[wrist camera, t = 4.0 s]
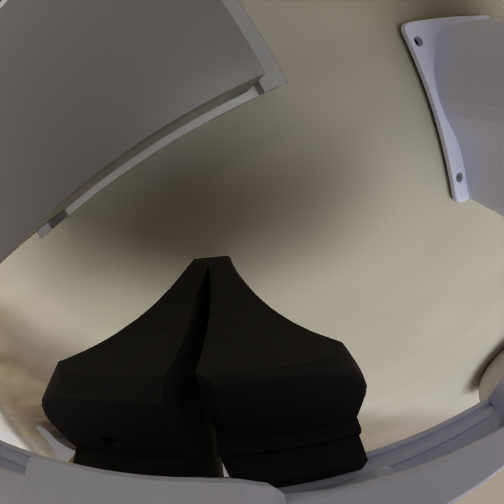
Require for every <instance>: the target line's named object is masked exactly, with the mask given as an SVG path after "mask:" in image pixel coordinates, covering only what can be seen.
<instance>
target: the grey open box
mask: <svg viewBox="0 0 504 504" xmlns="http://www.w3.org/2000/svg"><path fill="white" fill-rule="evenodd" d="M265 74H266V72H265V71H264V69H263V67H262V65H261V63H260V62H259V60H258V58H257V56H256V55H255V53H254V51H253V50H252V48H251V46H250V44H249V43H248V41H247V39H246V38H245V36H244V35H243V33H242V31H241V30H240V28H239V26H238V25H237V23H236V22H235V20H234V19H233V17H232V15H231V14H230V12H229V11H228V9H227V8H226V6H225V5H224V3H223V2H222V0H8V1H7V2H6V3H5V4H4V5H3V6H2V7H1V8H0V263H1V262H3V261H4V260H5V259H6V258H7V257H8V256H9V255H10V254H11V253H12V252H13V251H15V250H16V249H17V248H18V247H19V246H20V245H21V244H22V243H24V242H25V241H26V240H27V239H28V238H30V237H31V236H32V235H33V234H34V233H36V232H37V231H38V230H39V229H40V228H42V227H43V226H44V225H45V224H47V223H48V222H49V221H50V220H52V219H53V218H54V217H56V216H57V215H58V214H59V213H61V212H62V211H63V210H65V209H66V208H67V207H69V206H70V205H71V204H72V203H74V202H75V201H76V200H77V199H78V198H80V197H81V196H82V195H83V194H85V193H86V192H87V191H88V190H90V189H91V188H92V187H93V186H95V185H96V184H97V183H99V182H100V181H101V180H103V179H104V178H105V177H107V176H108V175H109V174H111V173H112V172H113V171H115V170H116V169H118V168H119V167H120V166H122V165H123V164H125V163H126V162H127V161H129V160H130V159H132V158H133V157H135V156H136V155H138V154H139V153H141V152H142V151H144V150H145V149H147V148H148V147H150V146H151V145H153V144H154V143H156V142H158V141H159V140H161V139H162V138H164V137H166V136H167V135H169V134H170V133H172V132H174V131H175V130H177V129H179V128H180V127H182V126H184V125H186V124H187V123H189V122H191V121H192V120H194V119H196V118H198V117H200V116H201V115H203V114H205V113H207V112H209V111H211V110H212V109H214V108H216V107H218V106H220V105H222V104H224V103H226V102H228V101H230V100H232V99H234V98H236V97H238V96H240V95H242V94H244V93H246V92H247V91H248V90H249V89H250V88H251V87H252V86H253V85H254V84H255V83H256V82H257V81H258V80H259V79H260V78H261V77H262V76H264V75H265Z"/></svg>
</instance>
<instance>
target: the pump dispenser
mask: <svg viewBox="0 0 504 504" xmlns="http://www.w3.org/2000/svg"><path fill="white" fill-rule="evenodd" d="M503 378H504V349H503V350H502V351H501V352H500V353H499V354H498V355H497V356H496V357H495V358H494V359H493V360H492V362H491V363H490V364H489V366H488V367H487V369H486V370H485V372H484V374H483V377H482V379H481V382H480V387H479V399H480V402H481V401H483V400H485V399H486V398H488V397H489V394H490V393H491V391H492V390H493V388H494V387H495V386H496V385H497V383H498V382H499V381H500V380H502V379H503Z"/></svg>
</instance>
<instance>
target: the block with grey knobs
mask: <svg viewBox="0 0 504 504" xmlns="http://www.w3.org/2000/svg"><path fill="white" fill-rule="evenodd" d="M7 1H8V0H0V8H1V7H2V6H3V5H4V4H5V3H6V2H7ZM222 2H223V3H224V5H225V6H226V8H227V9H228V11H229V12H230V14H231V15H232V17H233V19H234V20H235V22H236V23H237V25H238V26H239V28H240V30H241V31H242V33H243V35H244V36H245V38H246V39H247V41H248V43H249V44H250V46H251V48H252V50H253V51H254V53H255V55H256V56H257V58H258V60H259V62H260V63H261V65H262V67H263V69H264V71H265V72H266V74H265V75H264V76H262V77H261V78H260V79H259V80H258V81H257V82H256V83H255V84H254V85H253V86H252V87H251V88H250V89H249V90H248V91H247V92H246V93H244V94H242V95H240V96H238V97H236V98H234V99H232V100H230V101H228V102H226V103H224V104H222V105H220V106H218V107H216V108H214V109H212V110H211V111H209V112H207V113H205V114H203V115H201V116H200V117H198V118H196V119H194V120H192V121H191V122H189V123H187V124H186V125H184V126H182V127H180V128H179V129H177V130H175V131H174V132H172V133H170V134H169V135H167V136H166V137H164V138H162V139H161V140H159V141H158V142H156V143H154V144H153V145H151V146H150V147H148V148H147V149H145V150H144V151H142V152H141V153H139V154H138V155H136V156H135V157H133V158H132V159H130V160H129V161H127V162H126V163H125V164H123V165H122V166H120V167H119V168H118V169H116V170H115V171H113V172H112V173H111V174H109V175H108V176H107V177H105V178H104V179H103V180H101V181H100V182H99V183H97V184H96V185H95V186H93V187H92V188H91V189H90V190H88V191H87V192H86V193H85V194H83V195H82V196H81V197H80V198H78V199H77V200H76V201H75V202H74V203H72V204H71V205H70V206H69V207H67V208H66V209H65V210H63V211H62V212H61V213H59V214H58V215H57V216H56V217H54V218H53V219H52V220H50V221H49V222H48V223H47V224H45V225H44V226H43V227H42V228H40V229H39V230H38V231H37V233H38V234H39V236H40V237H41V239H42V238H43V237H44V236H45V235H46V234H47V233H49V232H50V231H51V230H52V229H53V228H54V227H56V226H57V225H58V224H59V223H60V222H62V221H63V220H64V219H65V218H66V217H68V216H69V215H70V214H71V213H72V212H74V211H75V210H76V209H77V208H79V207H80V206H81V205H82V204H84V203H85V202H86V201H87V200H89V199H90V198H91V197H92V196H94V195H95V194H96V193H98V192H99V191H100V190H102V189H103V188H104V187H106V186H107V185H108V184H110V183H111V182H113V181H114V180H115V179H117V178H118V177H119V176H121V175H122V174H124V173H125V172H127V171H128V170H129V169H131V168H132V167H134V166H135V165H137V164H138V163H140V162H141V161H143V160H144V159H146V158H147V157H149V156H150V155H152V154H154V153H155V152H157V151H158V150H160V149H161V148H163V147H165V146H166V145H168V144H169V143H171V142H173V141H174V140H176V139H178V138H179V137H181V136H183V135H185V134H186V133H188V132H190V131H191V130H193V129H195V128H197V127H198V126H200V125H202V124H204V123H206V122H207V121H209V120H211V119H213V118H215V117H217V116H219V115H221V114H222V113H224V112H226V111H228V110H230V109H232V108H234V107H236V106H238V105H240V104H242V103H244V102H246V101H248V100H251V99H253V98H255V97H257V96H259V95H261V94H263V93H266V92H268V91H270V90H272V89H275V88H277V87H279V86H281V85H283V84H285V83H287V81H286V79H285V77H284V75H283V73H282V71H281V70H280V68H279V66H278V64H277V62H276V61H275V59H274V57H273V55H272V54H271V52H270V50H269V48H268V47H267V45H266V43H265V41H264V40H263V38H262V36H261V35H260V33H259V31H258V30H257V28H256V27H255V25H254V23H253V22H252V20H251V19H250V17H249V15H248V14H247V12H246V11H245V9H244V8H243V6H242V5H241V3H240V2H239V0H222Z"/></svg>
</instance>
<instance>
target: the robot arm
mask: <svg viewBox="0 0 504 504" xmlns="http://www.w3.org/2000/svg"><path fill="white" fill-rule="evenodd" d="M401 32H402V35H403V37H404V39H405V41H406V43H407V45H408V48H409V50H410V52H411V54H412V57H413V59H414V62H415V64H416V66H417V69H418V71H419V74H420V77H421V79H422V82H423V85H424V87H425V90H426V93H427V96H428V99H429V102H430V105H431V108H432V111H433V115H434V118H435V121H436V125H437V128H438V132H439V136H440V140H441V143H442V148H443V152H444V156H445V161H446V165H447V170H448V175H449V181H450V186H451V192H452V197H453V199H454V201H456V202H458V203H463V202H464V201H466V200H468V199H469V198H470V199H472V200H474V201H476V202H478V203H480V204H482V205H484V206H486V207H487V208H489V209H491V210H493V211H495V212H496V213H498V214H500V215H502V216H503V217H504V17H497V18H491V17H489V16H487V15H477V16H456V17H444V18H435V19H426V20H419V21H413V22H408V23H405V24H403V25H402V27H401ZM414 38H415V39H416V40H417V42H418V46H417V45H416V44H415V42H414ZM457 174H458V178H457V179H456V176H457ZM366 388H367V385H366V382H365V379H364V377H363V374H362V372H361V370H360V368H359V366H358V365H357V363H356V362H355V360H354V359H353V357H352V356H351V354H350V353H349V351H348V350H347V348H346V347H345V346H344V344H343V343H342V342H340V341H337V340H334V339H331V338H328V337H325V336H323V335H320V334H317V333H314V332H312V331H310V330H308V329H306V328H303V327H301V326H299V325H297V324H295V323H293V322H292V321H290V320H288V319H287V318H285V317H284V316H282V315H280V314H279V313H277V312H276V311H275V310H273V309H272V308H271V307H269V306H268V305H267V304H266V303H265V302H263V301H262V300H261V299H260V298H259V297H258V296H257V295H256V294H255V293H254V292H253V291H252V290H251V289H250V288H249V286H248V285H247V284H246V283H245V282H244V280H243V279H242V278H241V276H240V275H239V274H238V272H237V271H236V269H235V267H234V265H233V263H232V261H231V258H230V257H229V256H220V257H211V258H201V259H194V260H193V261H192V262H191V264H190V265H189V266H188V267H187V268H186V270H185V271H184V272H183V273H182V275H181V276H180V277H179V278H178V280H177V281H176V282H175V283H174V284H173V285H172V287H171V288H170V289H169V290H168V291H167V292H166V293H165V294H164V295H163V296H162V297H161V298H160V299H159V300H158V301H157V302H156V303H155V304H154V305H153V306H152V307H151V308H150V309H149V310H147V311H146V312H145V313H144V314H143V315H141V316H140V317H139V318H138V319H136V320H135V321H133V322H132V323H131V324H129V325H128V326H126V327H125V328H123V329H122V330H121V331H119V332H118V333H116V334H115V335H113V336H111V337H110V338H108V339H106V340H105V341H103V342H101V343H99V344H97V345H95V346H93V347H91V348H89V349H87V350H85V351H83V352H81V353H78V354H76V355H74V356H72V357H69V358H67V359H65V360H62V361H59V362H58V364H57V366H56V368H55V371H54V373H53V375H52V377H51V379H50V382H49V384H48V386H47V389H46V391H45V393H44V396H43V398H42V407H43V410H44V412H45V414H46V416H47V418H48V419H49V420H50V421H51V423H52V424H53V425H54V426H55V427H56V428H57V429H58V430H59V431H60V432H61V433H62V434H63V435H64V436H65V437H66V438H67V439H68V440H69V441H70V442H71V443H72V444H73V445H75V446H76V447H77V448H76V452H75V456H74V460H73V463H69V462H65V461H61V460H58V459H54V458H49V457H46V456H42V455H39V454H36V453H33V452H30V451H27V450H24V449H21V448H19V447H16V446H13V445H11V444H8V443H6V442H3V441H1V440H0V504H452V503H454V502H456V501H458V500H459V499H461V498H462V497H464V496H466V495H467V494H469V493H470V492H471V491H473V490H475V489H476V488H477V487H479V486H480V485H482V484H483V483H485V482H486V481H487V480H489V479H490V478H491V477H493V476H494V475H495V474H497V473H498V472H499V471H501V470H502V469H503V468H504V378H503V379H502V380H500V381H499V382H498V383H497V385H496V386H495V387H494V388H493V390H492V391H491V393H490V394H489V397H488V398H486V399H485V400H483V401H481V402H480V403H478V404H476V405H474V406H473V407H471V408H469V409H467V410H465V411H464V412H462V413H460V414H458V415H456V416H454V417H452V418H450V419H448V420H446V421H444V422H442V423H440V424H438V425H436V426H434V427H431V428H429V429H427V430H425V431H422V432H420V433H418V434H415V435H413V436H410V437H408V438H405V439H403V440H400V441H398V442H395V443H392V444H389V445H387V446H384V447H381V448H378V449H375V450H372V451H368V452H365V450H364V447H363V445H362V442H361V439H360V436H359V434H360V433H361V427H360V424H359V422H358V419H357V415H358V413H359V410H360V408H361V405H362V403H363V400H364V397H365V395H366ZM222 462H223V464H224V466H225V469H226V471H227V473H228V475H229V477H224V475H223V466H222Z"/></svg>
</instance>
